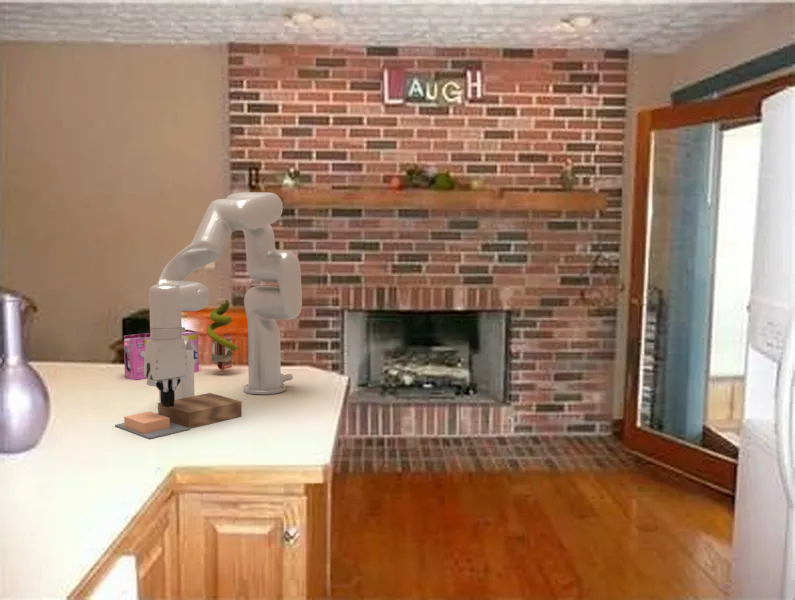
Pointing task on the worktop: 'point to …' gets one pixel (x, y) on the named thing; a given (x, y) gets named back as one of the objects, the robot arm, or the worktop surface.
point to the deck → (201, 410)
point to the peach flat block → (146, 422)
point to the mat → (173, 429)
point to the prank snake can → (221, 344)
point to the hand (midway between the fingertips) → (167, 405)
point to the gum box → (136, 353)
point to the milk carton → (187, 385)
